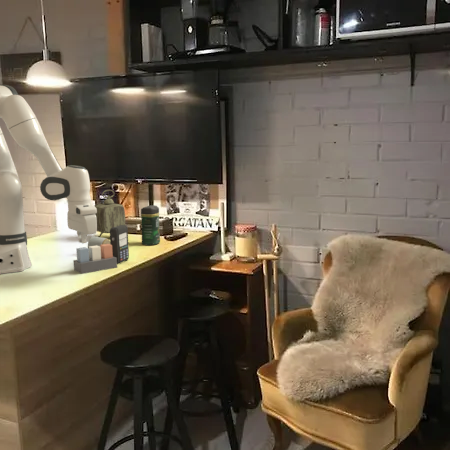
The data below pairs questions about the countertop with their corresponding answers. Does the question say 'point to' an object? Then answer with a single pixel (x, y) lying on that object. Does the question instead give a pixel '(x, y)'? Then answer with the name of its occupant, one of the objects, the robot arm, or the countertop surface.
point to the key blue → (82, 254)
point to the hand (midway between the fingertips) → (82, 242)
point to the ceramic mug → (97, 241)
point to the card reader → (119, 243)
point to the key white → (94, 253)
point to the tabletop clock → (109, 215)
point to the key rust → (106, 251)
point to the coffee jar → (150, 225)
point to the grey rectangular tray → (95, 265)
